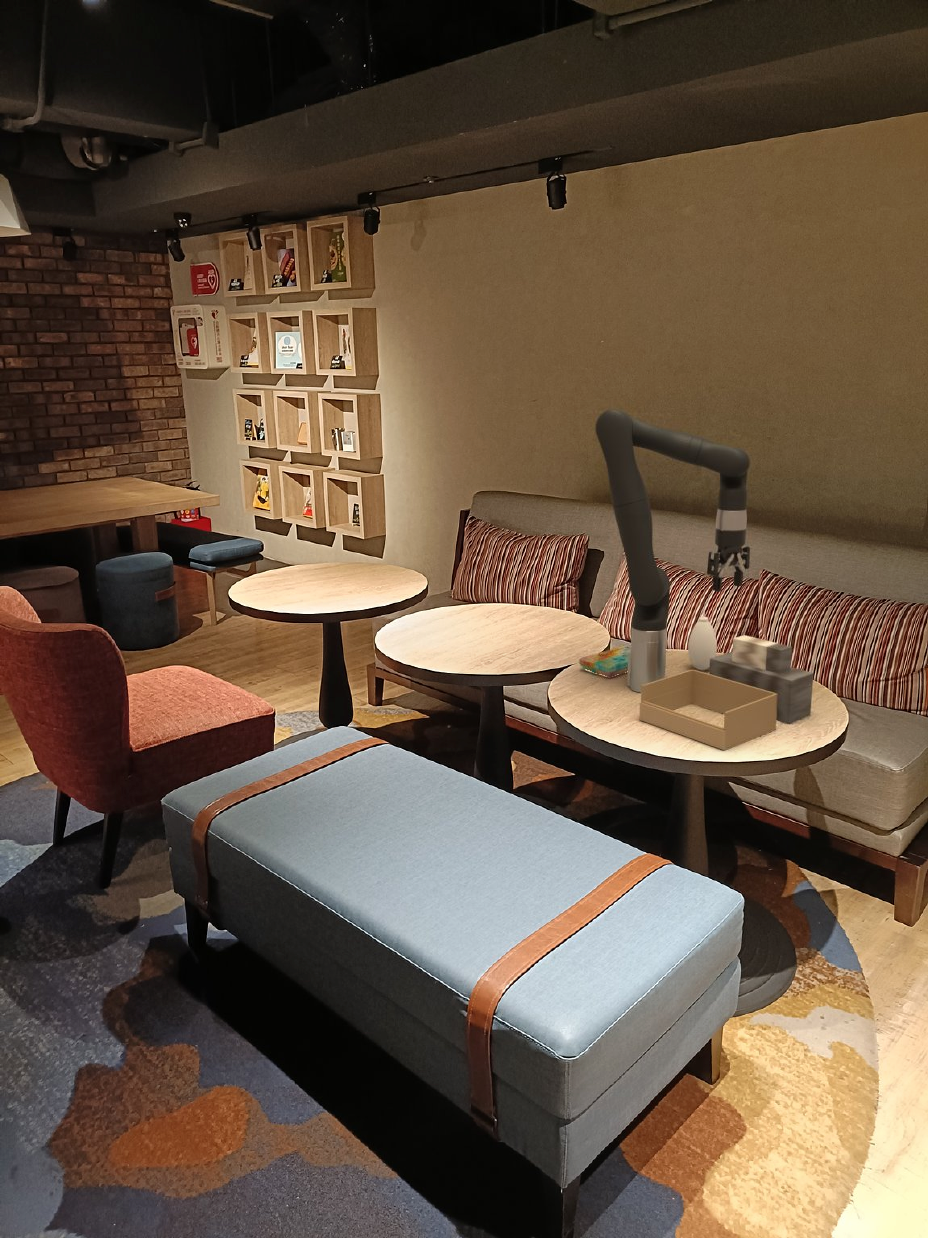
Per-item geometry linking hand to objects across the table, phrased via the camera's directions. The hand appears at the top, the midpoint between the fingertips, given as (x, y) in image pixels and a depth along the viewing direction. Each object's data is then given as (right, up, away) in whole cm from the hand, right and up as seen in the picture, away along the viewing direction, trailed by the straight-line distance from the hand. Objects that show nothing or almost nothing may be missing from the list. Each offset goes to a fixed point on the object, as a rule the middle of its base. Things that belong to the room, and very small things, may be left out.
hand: (727, 588), depth 240 cm
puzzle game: (-24, -23, +28) cm, 43 cm away
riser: (+6, -30, -6) cm, 31 cm away
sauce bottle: (0, -23, +25) cm, 33 cm away
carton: (-10, -34, -17) cm, 39 cm away
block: (+6, -20, -9) cm, 22 cm away
